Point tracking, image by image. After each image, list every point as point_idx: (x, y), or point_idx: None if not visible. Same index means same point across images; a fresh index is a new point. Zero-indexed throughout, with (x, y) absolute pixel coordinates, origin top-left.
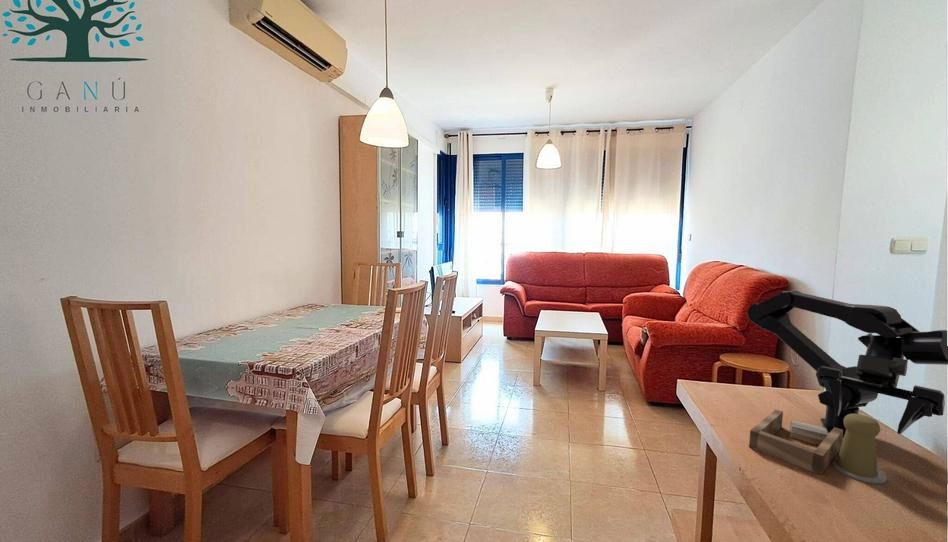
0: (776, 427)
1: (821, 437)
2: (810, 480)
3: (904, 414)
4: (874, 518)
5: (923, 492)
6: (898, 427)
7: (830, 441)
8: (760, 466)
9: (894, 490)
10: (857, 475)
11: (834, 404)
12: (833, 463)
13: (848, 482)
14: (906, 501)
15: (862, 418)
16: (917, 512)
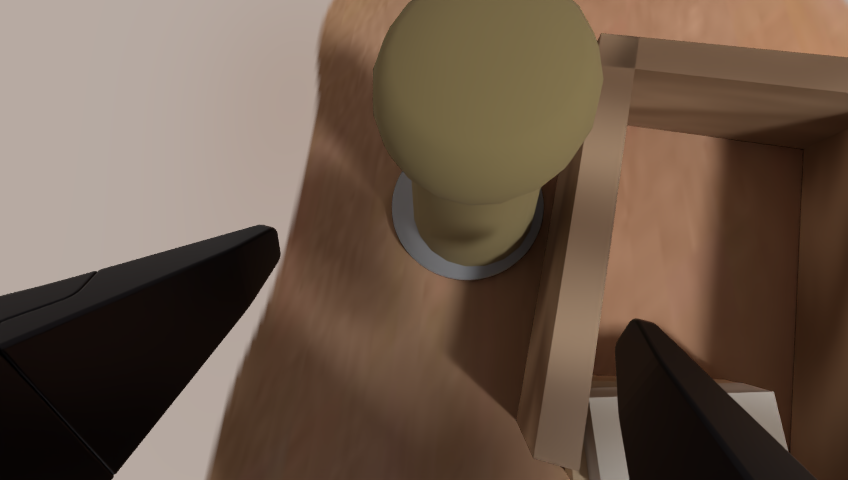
0: (822, 395)
1: (608, 390)
2: (598, 31)
3: (111, 292)
4: None
5: (309, 199)
6: (253, 236)
7: (584, 220)
8: (752, 5)
9: (382, 150)
10: None
11: (725, 395)
12: (542, 198)
13: None
14: (364, 104)
15: (486, 2)
16: (350, 63)
